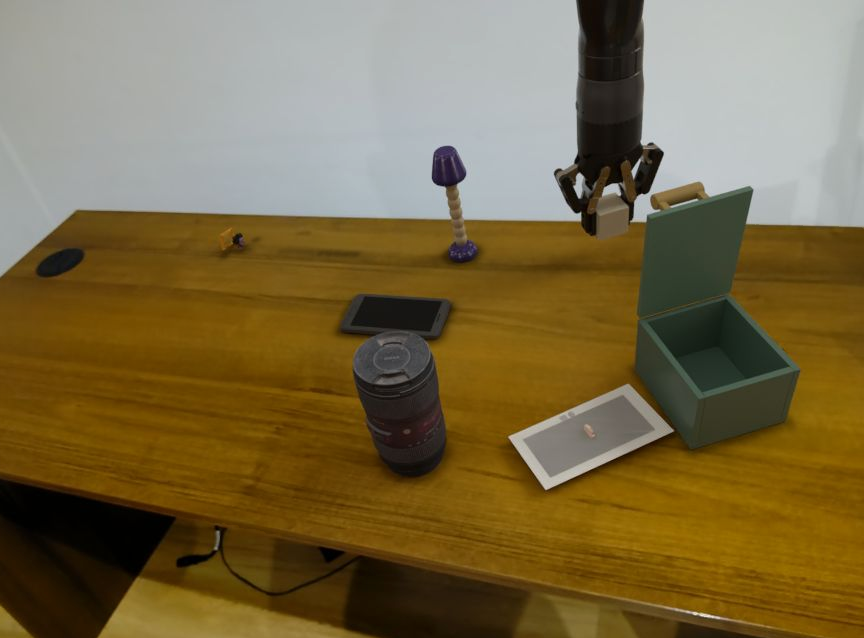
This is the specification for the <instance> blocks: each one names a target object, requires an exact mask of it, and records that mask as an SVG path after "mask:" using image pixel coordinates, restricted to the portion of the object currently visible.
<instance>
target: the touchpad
mask: <svg viewBox="0 0 864 638" xmlns="http://www.w3.org/2000/svg"><path fill="white" fill-rule="evenodd" d="M674 432H675V430H674V429H673V428H672V427H671V426H670V425H669V424H668V423H667V422H666V421H665V420H664V418H662V417H661V416H660V414H659V413H657V411H655V409H654V408H653V407H652V406H651V405H650V404H649V403H648V402H647V401H646V400H645V399H644V398H643V397H642V396H641V395H640V394H639V393H638V392H637V391H636V390H635V388H633V386H631V384H630V383H627V384H624V385H622V386H619V387H618V388H615V389H613V390H610V391H608V392H606V393H604V394H602V395H599V396H597V397H595V398H593V399H590V400H587V401H585V402H583V403H581V404H579V405H576V406H574V407H572V408H570V409H567V410H566V411H563V412H561V413H558V414H557V415H554V416H551V417H550V418H547V419H545V420H543V421H540V422H538V423H536V424H534V425H531V426H529V427H526V428H525V429H522V430H520V431H518V432H516V433H513V434H511V435H509V436H507V437H508V439H509V440H510V442H511V443H512V445H513V446H514V447H515V449H516V450H517V452H518V453H519V454H520V456H521V458H522V459H523V460H524V462H525V463H526V464H527V466H528V467H529V469H530V470H531V471H532V473H533V474H534V476H535V477H536V479H537V480H538V482H539V483H540V485H541V486H542V487H543V489H544V490H545V491H547V490H550V489H552V488H554V487H556V486H559V485H561V484H563V483H565V482H567V481H569V480H571V479H574V478H575V477H578V476H580V475H582V474H584V473H586V472H589V471H590V470H593V469H595V468H598V467H599V466H602V465H604V464H606V463H609V462H610V461H612V460H614V459H615V460H616V458H617V459H618V458H620V457H621V456H624V455H626V454H628V453H631V452H632V451H635V450H636V449H639V448H641V447H643V446H645V445H647V444H649V443H652V442H654V441H656V440H659V439H660V438H663V437H666V436H668V435H669V434H671V433H674Z"/></svg>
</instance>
